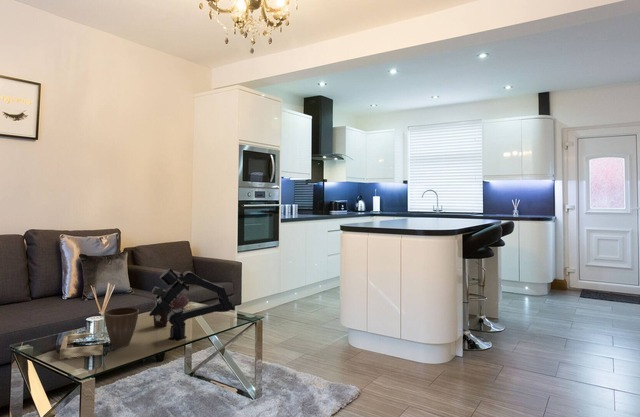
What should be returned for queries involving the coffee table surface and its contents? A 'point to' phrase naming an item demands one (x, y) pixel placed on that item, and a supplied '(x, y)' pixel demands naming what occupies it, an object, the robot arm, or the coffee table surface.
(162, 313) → the coffee mug
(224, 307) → the robot arm
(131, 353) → the coffee table surface
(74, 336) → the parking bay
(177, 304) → the red grape bunch
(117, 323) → the plant pot
